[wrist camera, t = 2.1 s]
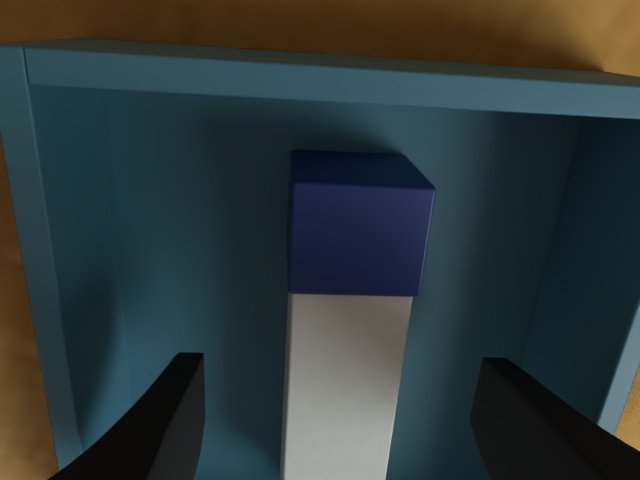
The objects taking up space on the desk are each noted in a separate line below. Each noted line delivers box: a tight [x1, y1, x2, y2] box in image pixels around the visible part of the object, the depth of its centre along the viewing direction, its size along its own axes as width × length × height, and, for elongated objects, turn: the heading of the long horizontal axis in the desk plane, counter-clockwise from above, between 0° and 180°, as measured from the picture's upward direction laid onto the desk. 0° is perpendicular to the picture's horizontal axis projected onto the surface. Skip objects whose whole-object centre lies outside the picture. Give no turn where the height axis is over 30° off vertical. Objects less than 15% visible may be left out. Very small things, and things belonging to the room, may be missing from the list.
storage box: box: [0, 38, 640, 480], centre depth 14 cm, size 13×16×4 cm
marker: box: [280, 149, 436, 480], centre depth 14 cm, size 12×3×3 cm, turn 176°
